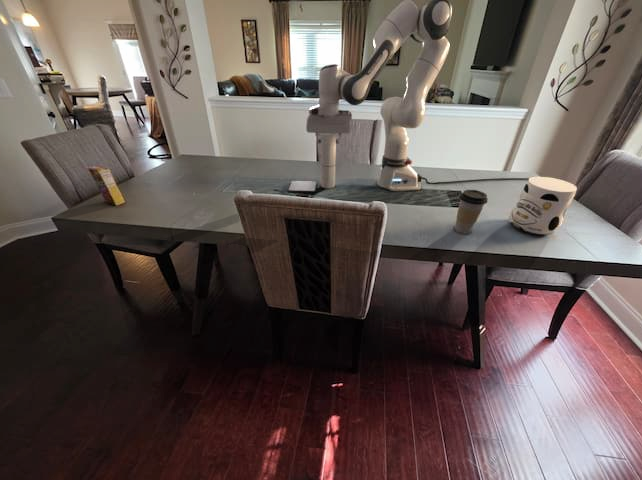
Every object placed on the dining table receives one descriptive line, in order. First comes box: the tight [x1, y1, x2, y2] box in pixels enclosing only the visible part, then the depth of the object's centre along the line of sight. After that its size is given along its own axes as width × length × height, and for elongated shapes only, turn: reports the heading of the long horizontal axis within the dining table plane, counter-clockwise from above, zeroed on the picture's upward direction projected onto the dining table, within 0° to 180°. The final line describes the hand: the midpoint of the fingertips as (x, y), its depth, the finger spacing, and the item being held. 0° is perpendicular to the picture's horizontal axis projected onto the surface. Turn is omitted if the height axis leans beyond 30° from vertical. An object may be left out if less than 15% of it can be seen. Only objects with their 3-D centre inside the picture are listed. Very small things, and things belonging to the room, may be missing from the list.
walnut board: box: [287, 180, 318, 194], centre depth 142 cm, size 13×13×1 cm
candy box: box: [87, 165, 126, 206], centre depth 122 cm, size 9×4×15 cm, turn 60°
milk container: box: [508, 176, 578, 236], centre depth 107 cm, size 17×17×18 cm
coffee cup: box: [454, 189, 489, 235], centre depth 106 cm, size 9×9×15 cm
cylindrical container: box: [320, 133, 337, 189], centre depth 138 cm, size 7×7×25 cm
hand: (328, 143), depth 133 cm, fingers closed on cylindrical container, 7 cm apart
